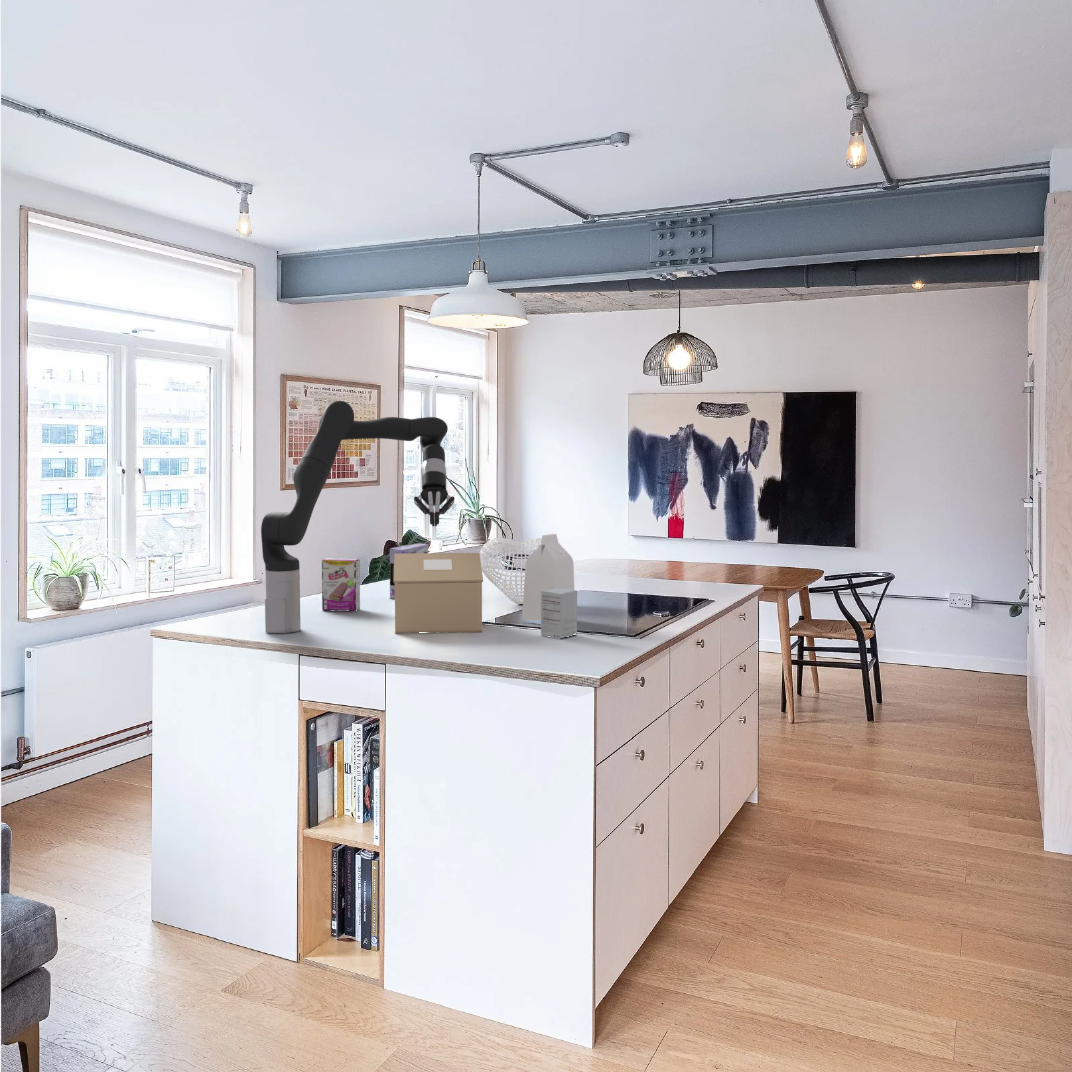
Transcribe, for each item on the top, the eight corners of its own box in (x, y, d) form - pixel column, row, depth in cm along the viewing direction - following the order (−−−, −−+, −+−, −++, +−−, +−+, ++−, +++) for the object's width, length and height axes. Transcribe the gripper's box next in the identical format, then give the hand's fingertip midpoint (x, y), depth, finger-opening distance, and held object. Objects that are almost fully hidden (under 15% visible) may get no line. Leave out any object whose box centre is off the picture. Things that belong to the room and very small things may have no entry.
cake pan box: (399, 600, 322) (398, 548, 321) (386, 599, 324) (386, 547, 323) (429, 593, 339) (429, 543, 338) (417, 592, 342) (417, 543, 340)
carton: (482, 632, 266) (482, 582, 264) (395, 633, 263) (394, 583, 261) (478, 622, 281) (478, 575, 280) (396, 623, 278) (395, 576, 277)
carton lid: (483, 581, 264) (483, 579, 264) (393, 583, 261) (393, 580, 261) (479, 554, 279) (479, 552, 278) (394, 555, 275) (394, 553, 275)
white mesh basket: (477, 608, 306) (477, 539, 304) (480, 601, 321) (480, 535, 319) (564, 609, 306) (565, 540, 304) (563, 601, 321) (563, 536, 319)
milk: (542, 616, 291) (542, 532, 289) (575, 620, 286) (576, 534, 283) (521, 622, 281) (522, 535, 279) (555, 626, 275) (556, 537, 273)
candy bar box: (321, 611, 299) (320, 559, 298) (326, 608, 304) (325, 557, 303) (356, 612, 298) (355, 560, 297) (360, 609, 303) (360, 558, 302)
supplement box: (556, 632, 266) (556, 587, 265) (577, 635, 262) (578, 590, 260) (540, 636, 261) (540, 590, 259) (561, 639, 256) (561, 593, 255)
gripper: (455, 482, 299) (456, 531, 291) (412, 482, 297) (412, 531, 289) (455, 469, 292) (456, 518, 284) (412, 469, 291) (412, 518, 283)
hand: (434, 524), depth 287 cm, fingers closed
